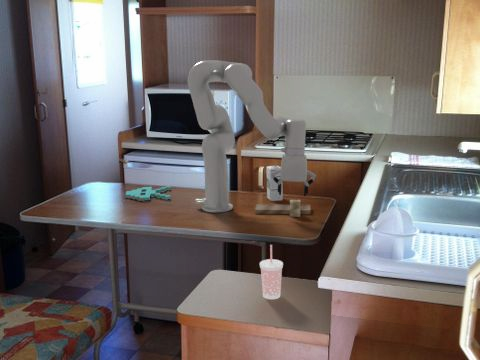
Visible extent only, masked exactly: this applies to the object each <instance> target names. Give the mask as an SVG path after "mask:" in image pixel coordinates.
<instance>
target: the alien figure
mask: <svg viewBox="0 0 480 360" xmlns="http://www.w3.org/2000/svg"><path fill="white" fill-rule="evenodd" d="M166 189H171V190H172V186H171V185H167V186H165V187H160V188H156V189H153V187H152V186H144V187H143V186H142V187H141V188H140V187H138V188H136V189H131V190H127V191H126V192H125V197H126V196H130V197H135V198H139V199H145V200H148V199H149V200H150V201H151V198H150V196H155V197H160V198H165V199H170V200H171V195H170V194H164V193H163V194H162V192H161V191H166ZM156 192H161V193H156ZM166 192H167V191H166ZM155 197H154V198H155ZM160 198H159V199H160ZM165 199H164V200H165Z"/></svg>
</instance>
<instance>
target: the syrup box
mask: <svg viewBox="0 0 480 360" xmlns="http://www.w3.org/2000/svg"><path fill="white" fill-rule="evenodd" d="M278 169H281V166H279V165H269V166H266V170H265V171H266V199H267V200H268V201H270V202H278V201H283V197H284V195H283V194H284V193H283V187H284V186H283V182H282V183H281V184H282V186H281V195H279V192H278V185H277V183H276V182H275V181H274V180H273V177H272V175H271V173H272V172H274V171H276V170H278ZM275 176H276V178H277V179H278V180H279V179H280V173H278V174H276V175H275Z"/></svg>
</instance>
